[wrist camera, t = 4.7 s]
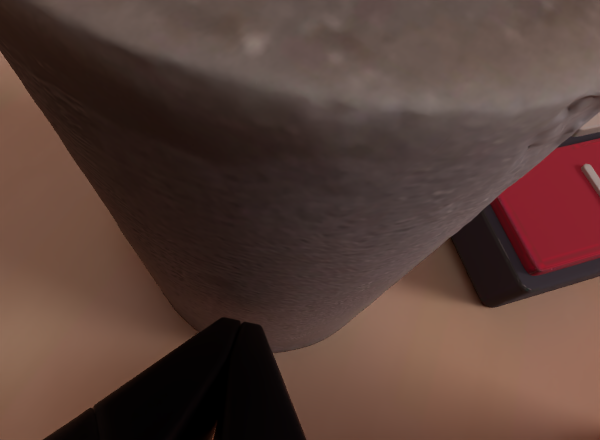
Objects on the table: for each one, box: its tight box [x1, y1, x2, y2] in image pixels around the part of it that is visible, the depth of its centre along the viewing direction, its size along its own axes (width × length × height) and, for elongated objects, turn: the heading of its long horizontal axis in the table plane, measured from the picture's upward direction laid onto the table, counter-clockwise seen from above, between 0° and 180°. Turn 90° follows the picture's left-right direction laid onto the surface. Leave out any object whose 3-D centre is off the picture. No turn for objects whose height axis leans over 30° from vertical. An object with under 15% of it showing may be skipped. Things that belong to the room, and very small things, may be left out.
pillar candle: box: [0, 0, 600, 353], centre depth 10 cm, size 10×10×15 cm
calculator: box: [451, 112, 600, 307], centre depth 19 cm, size 11×4×15 cm
